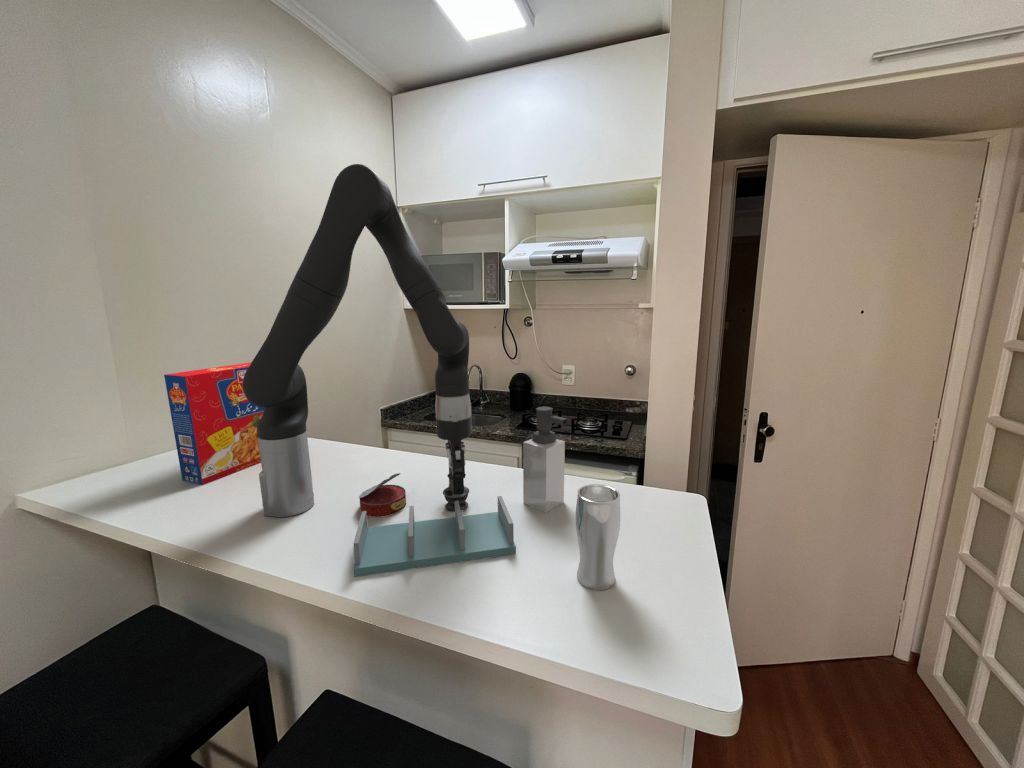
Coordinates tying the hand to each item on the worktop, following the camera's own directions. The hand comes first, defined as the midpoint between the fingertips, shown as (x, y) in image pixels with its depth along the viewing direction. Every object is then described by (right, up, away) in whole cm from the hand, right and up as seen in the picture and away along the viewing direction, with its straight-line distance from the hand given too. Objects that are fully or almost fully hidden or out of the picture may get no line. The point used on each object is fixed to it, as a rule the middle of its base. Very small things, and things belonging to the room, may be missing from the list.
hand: (457, 485), depth 91 cm
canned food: (-17, -5, +1) cm, 18 cm away
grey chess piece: (0, -5, +1) cm, 5 cm away
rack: (-2, -8, -14) cm, 16 cm away
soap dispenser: (+20, -5, +1) cm, 21 cm away
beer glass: (+26, -10, -24) cm, 36 cm away
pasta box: (-65, -1, +27) cm, 70 cm away
